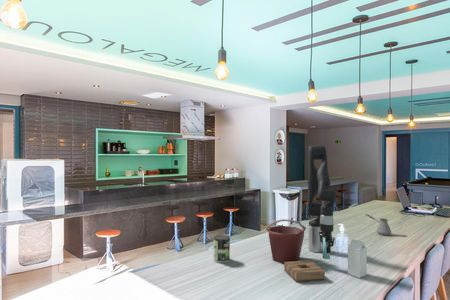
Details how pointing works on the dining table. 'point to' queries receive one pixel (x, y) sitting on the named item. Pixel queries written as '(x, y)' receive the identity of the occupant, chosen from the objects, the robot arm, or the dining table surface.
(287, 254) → the bucket
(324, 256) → the dowel
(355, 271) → the milk carton
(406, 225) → the dining table surface
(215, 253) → the coffee can
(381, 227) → the coffee pot
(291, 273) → the bore block
